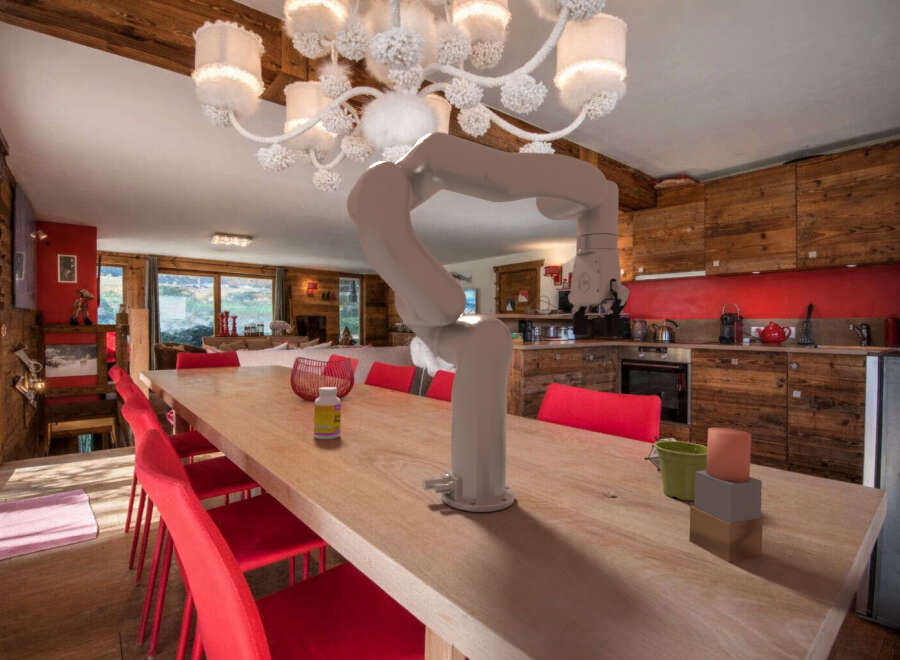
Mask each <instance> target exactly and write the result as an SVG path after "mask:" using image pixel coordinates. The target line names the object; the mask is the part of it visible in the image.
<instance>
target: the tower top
mask: <svg viewBox="0 0 900 660" xmlns="http://www.w3.org/2000/svg"><path fill="white" fill-rule="evenodd" d="M706 470H707V469H706ZM706 470H704V471H696V472H695V492H694V502H693V503H694V504H693V506H694V507H695V508H697V509H699V510H701V511H704V512H706V513H708V514H710V515H712V516H715V517H717V518H719V519H721V520H723V521H725V522H728V523H730V524H732V523H737V522H743V521H748V520H754V519H759V518H762V484H763V482H762V480H760V479H758V478H755V477H752V476H750V479H749V481H746V482H734V481H727V480H722V479H718V478H715V477H713V476H710V475H709V474H707V472H706Z"/></svg>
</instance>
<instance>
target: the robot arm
mask: <svg viewBox="0 0 900 660" xmlns="http://www.w3.org/2000/svg"><path fill="white" fill-rule="evenodd" d="M442 190H444V191H448V192H453V193H457V194H460V195H466V196H468V197H472V198H476V199H479V200H484V201H486V202H491V203H506V202H509V203H510V202H514V201H515V202H517V201H519V200H525V199H534V198H535V206H536V208H537V211H538V212H539V213H540V215H542V216H543V218H546V219H548V220H552V221H566V220H567V221H570V220H573V221H574V220H575V221H576V256H575V257H574V262H573V266H572V272H571V284H570V292H569V294H568V296H567V299H568V303H569V308H570V310H571V313H570V314H571V315H572V334H573V335H574V336H578V335H579V336H587V335H588V333H589V332H588V331H589V330H588V329H589V328H588V327H589V315H587V313H588V310H589V309H590V307H593V306H594V307H597V306H602V307H603V308H604V310H605V312H606V313H605V314H604V315H603V335H604V337H620V335H621V315H623V313H624V309H625V306H626V305H627V301H628V297H629V295H630V292H631V291H630V289H629V288H627V287H626V286H625V285H624V284H622V276H621V274H622V273H621V264H620V257H619V252H618V247H619V246H618V241H619V240H618V238H619V236H618V235H619V233H618V232H619V197H620V196H619V195H620V194H619V192H620V190H619V186H618V185H617V183H616V182H614V181H612V180H609V179H607V178H606V176H605V174H604V173H603V172H602V171H601V169H600V168H599V167H597V166H595V165H594V164H592V163H590V162H587V161H584V160H581V159H580V158H576V157H573V156H571V155H566V154H559V153H553V152H552V153H551V152H550V153H549V152H508V151H504V150H501V149H498V148H494V147H491V146H488V145H484V144H481V143H477V142H476V141H475V142H474V141H471V140H468V139H465V138H462V137H460V136H456V135H452V134H450V133H446V132H441V131H434V132H429V133H427V134H425V135H424V136H422V137H421V138H420V139H419V140H418V141H417V142H416V143H415V144H414V145H413V147H411V149H410V150H409V151H408V152H407V153H406V154H405V155H404V156H403V157H401V158H400V159H399V160H397V161H396V162H394V161H390V160H380V161H377V162H375V163H373V164H371V165H370V166H368V167H367V168H366V169H365V170H364V172H362V174H361V175H360V177H359V178H358V179H357V181H356V183H355V184H354V186H353V187H352V188H351V190H350V192H349V193H348V196H347V200H346V202H347V203H346V208H347V209H346V210H347V213H348V216H349V218H350V220H351V221H352V222H353V223H354V224H355V225H356V229H357V235H358V240H359V242H360V246H361V249H362V251H363V254H364V256H365V257H366V259H367V261H368V262H369V263H370V265H371V267H372V268H373V269H374V271H375V272H376V273H377V274H378V275H379V277H380V278H382V280H383V281H384V282H385V283H386V284H387V285H388V287H389V288H391V289H392V291H393V292H394V293H395V295H394V306H395V310H396V312H397V314H398V316H399V318H400V319H401V320H402V322H403V323H404V325H406V326H407V328H409V329H410V330H411V331H412V333H414V334H415V335H416V336H417V337H418V339H420V340H421V341H422V342H423V343H424V344H425V345H426V346H427V347H428V348H429V349H431V351H432V352H434V353H435V355H437V357H439V358H440V359H441V360H442V361H444V362H445V363H448V364H450V365H453V366H455V367H456V368H455V374H454V377H453V383H452V388H451V402H450V403H451V404H450V405H451V406H450V407H451V425H450V426H451V427H450V429H451V431H450V468H446V469H445V471H444V473H445V474H441V475H440V477H424V478H423V479H422V487H423V490H424V491H428V490H429V491H430V490H434V493H435V494H440V497H441V500H442V501H443V502H444V503H445V504H446V505H447V506H450V507H451V508H454V509H457V510H461V511H464V512H465V511H466V512H475V513H490V512H497V511H500V510H501V511H502V510H504V509H506V508H509V507H510V506H512V505H513V504H514V501H515V492H514V490H513V489H512V488H511V487H509V486H508V485H506V475H507V474H506V473H507V471H506V470H507V469H506V468H507V423H508V422H507V419H508V417H507V416H508V415H507V414H508V411H507V410H508V407H507V405H508V404H507V403H508V401H507V400H508V381H509V375H510V374H509V373H510V370H511V364H512V360H513V351H514V340H513V336H512V334H511V331H510V329H509V328H508V326H507V325H506V324H505V323H504V322H503V321H502V320H501V319H499V318H497V317H495V316H492V315H487V314H468V315H466V314H465V311H466V307H467V296H466V293H465V289H464V288H463V287H462V285H461V283H460V282H459V281H458V280H457V279H456V278H455V277H454V276H453V275H452V274H451V273H450V272H449V271H448V269H446V268H445V267H444V265H443V264H442V263H441V262H440V261H439V260H438V259H437V258H436V257H435V256H434V255H433V254H432V253H431V252H430V250H429V249H428V248H427V247H426V246H425V244H423V242H422V241H421V240H420V238H419V237H418V235H417V234H416V232H415V229H414V227H413V223H412V217H411V212H412V211H414V210H415V209H416V208H418V207H419V206H421V205H422V204H424V203H425V202H427V200H429V199H430V198H432V197H433V196H434V195H436V194H437V193H439V192H440V191H442Z"/></svg>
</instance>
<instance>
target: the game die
mask: <svg viewBox="0 0 900 660" xmlns="http://www.w3.org/2000/svg"><path fill="white" fill-rule="evenodd" d="M671 436H672V437H668V438H667V437H666V438H665V437H664V438H658V437H657V436H656V435H653V439H654V440H655V442H654V443H656V442H660V441H678V440H677V439H676V435H675V434H672V435H671ZM679 441H680V442H683V440H679ZM651 448H652V449H650V450H651V451H650V452H649V455H648V457H644V458H643V460H645V461H647V460H649V461H650V463H652V464H653V466H655V467H656V468H657V471H658V472H661V467H660V460H659V456H658V454H657V449H656V448H655V447H654V444H651Z"/></svg>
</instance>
